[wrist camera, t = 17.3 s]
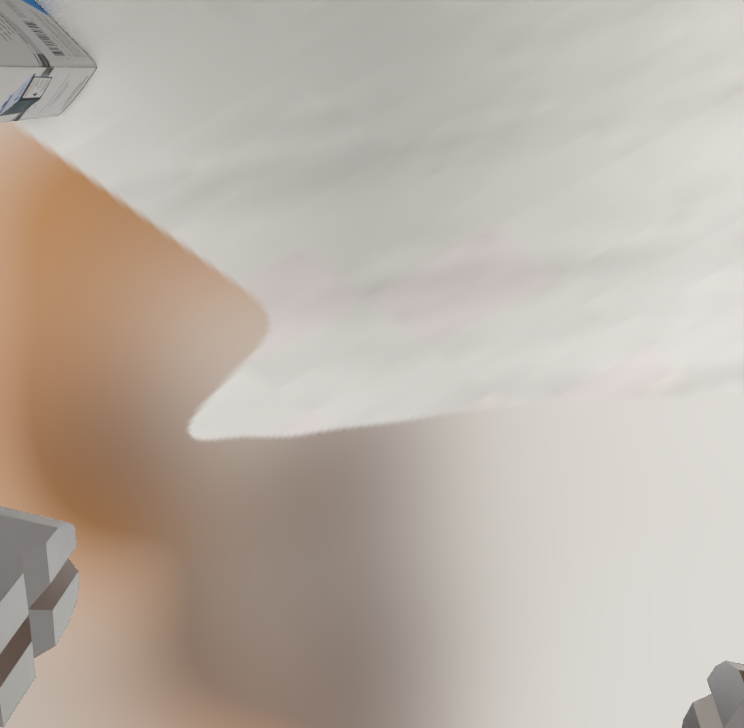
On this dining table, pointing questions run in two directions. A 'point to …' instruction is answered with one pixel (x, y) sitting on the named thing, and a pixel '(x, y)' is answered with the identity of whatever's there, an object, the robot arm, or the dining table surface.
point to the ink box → (37, 63)
